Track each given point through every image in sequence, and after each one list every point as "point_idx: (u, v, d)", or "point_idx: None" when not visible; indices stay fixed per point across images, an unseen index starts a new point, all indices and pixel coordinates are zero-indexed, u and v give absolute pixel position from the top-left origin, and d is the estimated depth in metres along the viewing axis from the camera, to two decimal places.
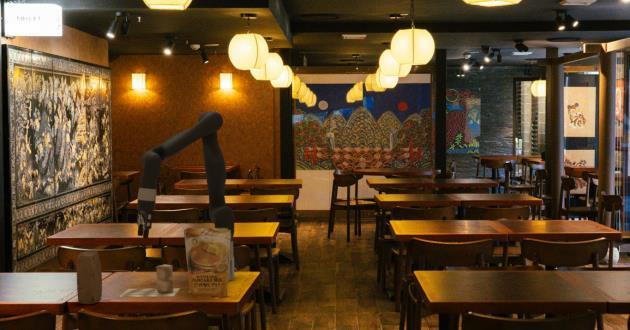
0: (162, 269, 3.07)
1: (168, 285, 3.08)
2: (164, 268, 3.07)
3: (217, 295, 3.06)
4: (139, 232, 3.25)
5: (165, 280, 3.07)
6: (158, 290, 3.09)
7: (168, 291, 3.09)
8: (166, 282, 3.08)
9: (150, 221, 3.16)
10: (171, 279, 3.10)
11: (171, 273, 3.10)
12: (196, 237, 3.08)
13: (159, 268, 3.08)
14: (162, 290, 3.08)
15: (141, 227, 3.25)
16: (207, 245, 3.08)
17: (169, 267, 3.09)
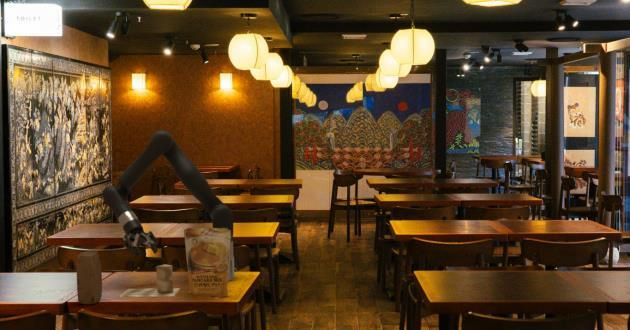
0: (162, 269, 3.07)
1: (168, 285, 3.08)
2: (164, 268, 3.07)
3: (217, 295, 3.06)
4: (153, 250, 3.20)
5: (165, 280, 3.07)
6: (158, 290, 3.09)
7: (168, 291, 3.09)
8: (166, 282, 3.08)
9: (126, 241, 3.14)
10: (171, 279, 3.10)
11: (171, 273, 3.10)
12: (196, 237, 3.08)
13: (159, 268, 3.08)
14: (162, 290, 3.08)
15: (151, 245, 3.21)
16: (207, 245, 3.08)
17: (169, 267, 3.09)
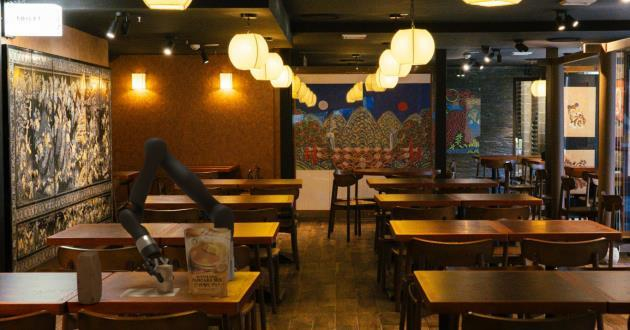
0: (162, 269, 3.07)
1: (168, 285, 3.08)
2: (164, 268, 3.07)
3: (217, 295, 3.06)
4: None
5: (165, 280, 3.07)
6: (158, 290, 3.09)
7: (168, 291, 3.09)
8: (166, 282, 3.08)
9: (147, 268, 3.07)
10: (171, 279, 3.10)
11: (171, 273, 3.10)
12: (196, 237, 3.08)
13: (159, 268, 3.08)
14: (162, 290, 3.08)
15: None
16: (207, 245, 3.08)
17: (169, 267, 3.09)
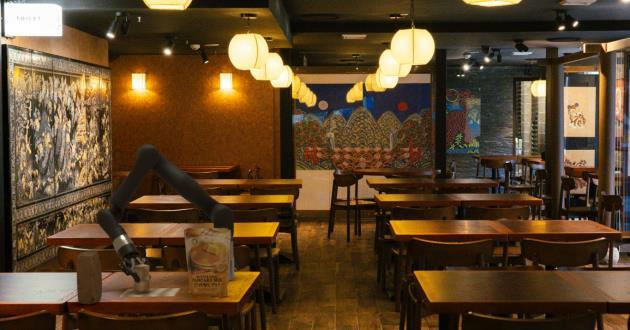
0: (138, 269, 3.07)
1: (144, 285, 3.09)
2: (140, 268, 3.07)
3: (217, 295, 3.06)
4: None
5: (141, 280, 3.07)
6: (135, 290, 3.10)
7: (145, 291, 3.09)
8: (142, 282, 3.08)
9: (124, 268, 3.07)
10: (148, 279, 3.10)
11: (148, 273, 3.10)
12: (196, 237, 3.08)
13: (136, 268, 3.08)
14: (139, 290, 3.08)
15: None
16: (207, 245, 3.08)
17: (146, 267, 3.09)
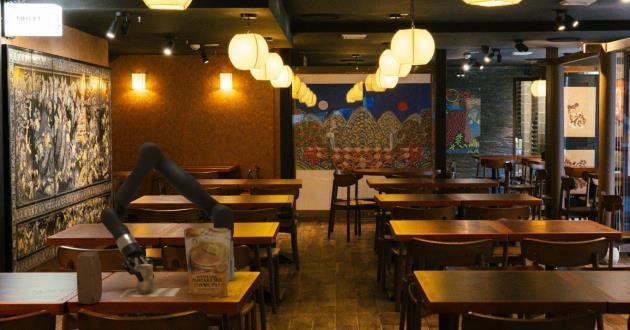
0: (142, 268, 3.07)
1: (148, 284, 3.08)
2: (144, 267, 3.07)
3: (217, 295, 3.06)
4: None
5: (145, 279, 3.07)
6: (138, 289, 3.09)
7: (148, 290, 3.09)
8: (146, 281, 3.08)
9: (127, 267, 3.07)
10: (151, 278, 3.10)
11: (151, 272, 3.10)
12: (196, 237, 3.08)
13: (139, 267, 3.08)
14: (142, 289, 3.08)
15: None
16: (207, 245, 3.08)
17: (149, 266, 3.09)
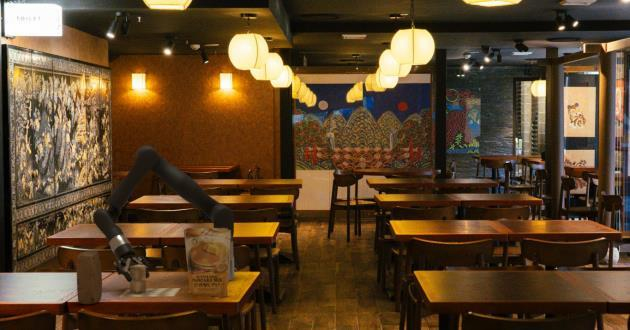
0: (135, 269, 3.07)
1: (141, 285, 3.09)
2: (137, 268, 3.07)
3: (217, 295, 3.06)
4: None
5: (137, 280, 3.07)
6: (131, 290, 3.10)
7: (141, 291, 3.09)
8: (138, 282, 3.08)
9: (117, 266, 3.07)
10: (144, 279, 3.10)
11: (144, 273, 3.10)
12: (196, 237, 3.08)
13: (132, 268, 3.08)
14: (135, 290, 3.08)
15: None
16: (207, 245, 3.08)
17: (142, 267, 3.09)
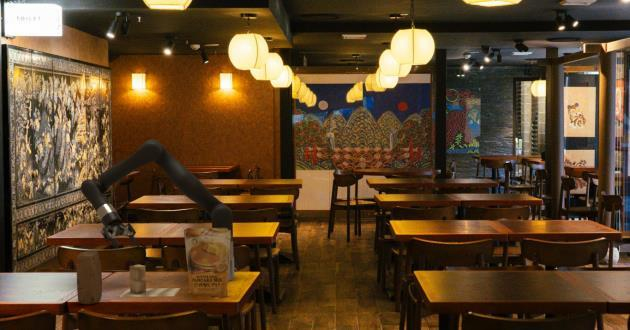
0: (135, 269, 3.07)
1: (141, 285, 3.09)
2: (137, 268, 3.07)
3: (217, 295, 3.06)
4: (132, 242, 3.25)
5: (137, 280, 3.07)
6: (131, 290, 3.10)
7: (141, 291, 3.09)
8: (138, 282, 3.08)
9: (104, 233, 3.18)
10: (144, 279, 3.10)
11: (144, 273, 3.10)
12: (196, 237, 3.08)
13: (132, 268, 3.08)
14: (135, 290, 3.08)
15: (130, 237, 3.25)
16: (207, 245, 3.08)
17: (142, 267, 3.09)
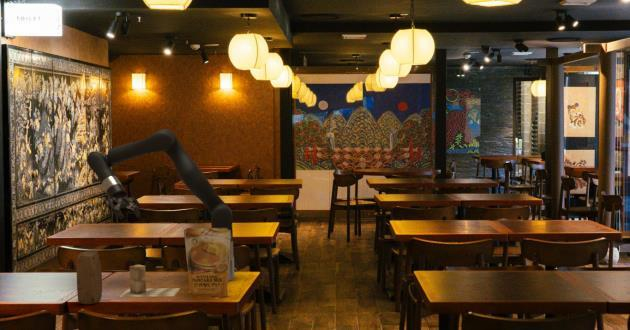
0: (135, 269, 3.07)
1: (141, 285, 3.09)
2: (137, 268, 3.07)
3: (217, 295, 3.06)
4: (136, 214, 3.28)
5: (137, 280, 3.07)
6: (131, 290, 3.10)
7: (141, 291, 3.09)
8: (138, 282, 3.08)
9: (109, 204, 3.21)
10: (144, 279, 3.10)
11: (144, 273, 3.10)
12: (196, 237, 3.08)
13: (132, 268, 3.08)
14: (135, 290, 3.08)
15: (134, 209, 3.28)
16: (207, 245, 3.08)
17: (142, 267, 3.09)
